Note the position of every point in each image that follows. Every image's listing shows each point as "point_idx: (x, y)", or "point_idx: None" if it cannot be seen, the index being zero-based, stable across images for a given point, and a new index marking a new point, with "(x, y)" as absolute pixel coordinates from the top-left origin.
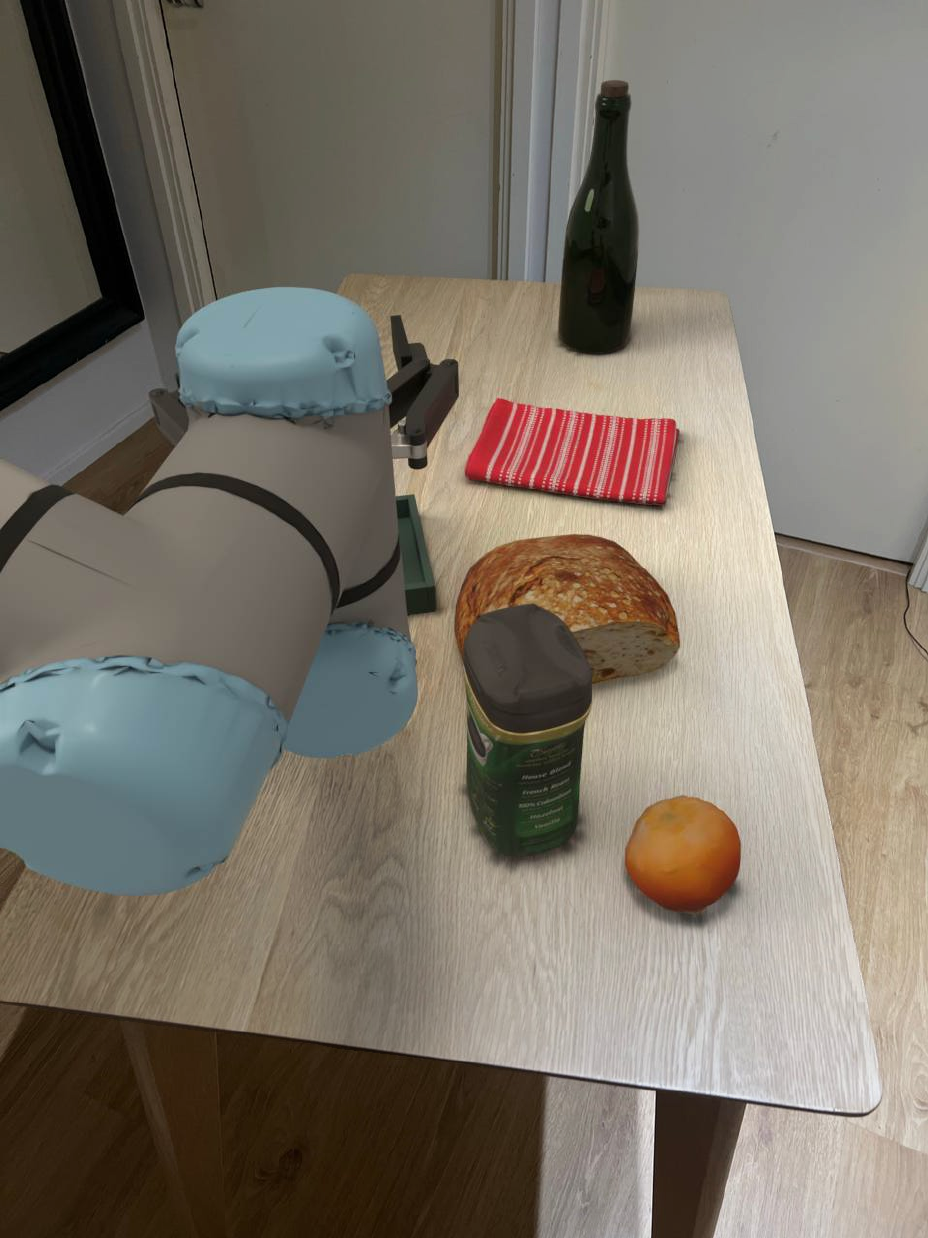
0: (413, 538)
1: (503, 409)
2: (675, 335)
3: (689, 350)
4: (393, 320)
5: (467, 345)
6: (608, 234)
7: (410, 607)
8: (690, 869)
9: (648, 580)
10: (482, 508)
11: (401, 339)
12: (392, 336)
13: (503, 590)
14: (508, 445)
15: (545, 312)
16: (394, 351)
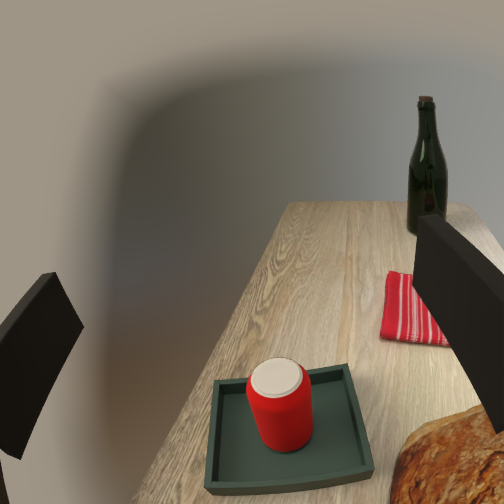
0: (347, 402)
1: (395, 279)
2: (463, 225)
3: (474, 233)
4: (433, 226)
5: (357, 235)
6: (436, 170)
7: (348, 481)
8: None
9: None
10: (396, 364)
11: (498, 283)
12: (421, 260)
13: (455, 501)
14: (405, 307)
15: (394, 215)
16: (429, 294)
